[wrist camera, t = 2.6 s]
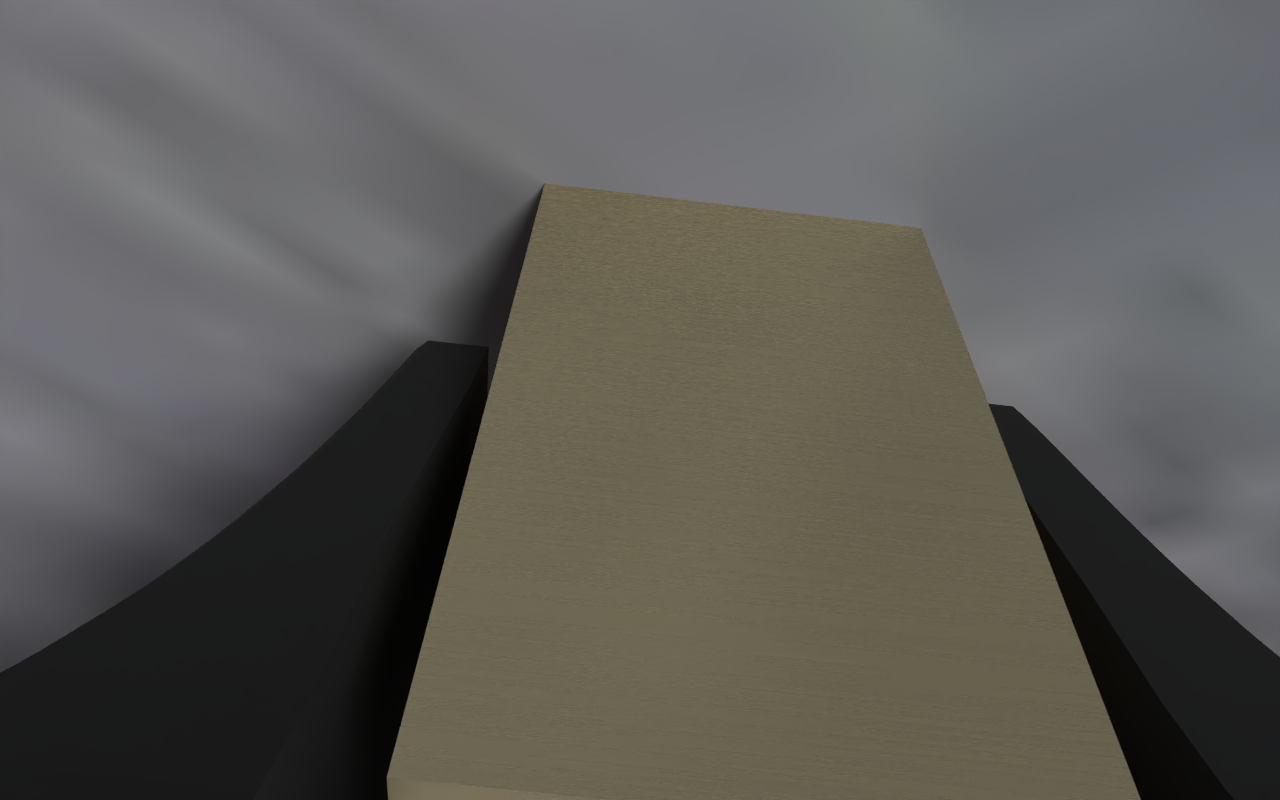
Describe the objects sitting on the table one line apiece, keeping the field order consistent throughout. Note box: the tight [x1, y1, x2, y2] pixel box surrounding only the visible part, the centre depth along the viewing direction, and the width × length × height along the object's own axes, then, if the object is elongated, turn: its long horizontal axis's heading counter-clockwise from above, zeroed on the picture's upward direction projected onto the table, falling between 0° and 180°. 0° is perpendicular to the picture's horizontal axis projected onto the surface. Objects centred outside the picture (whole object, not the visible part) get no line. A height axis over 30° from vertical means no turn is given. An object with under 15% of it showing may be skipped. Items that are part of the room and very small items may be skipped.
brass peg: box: [387, 184, 1141, 800], centre depth 9 cm, size 4×4×7 cm
